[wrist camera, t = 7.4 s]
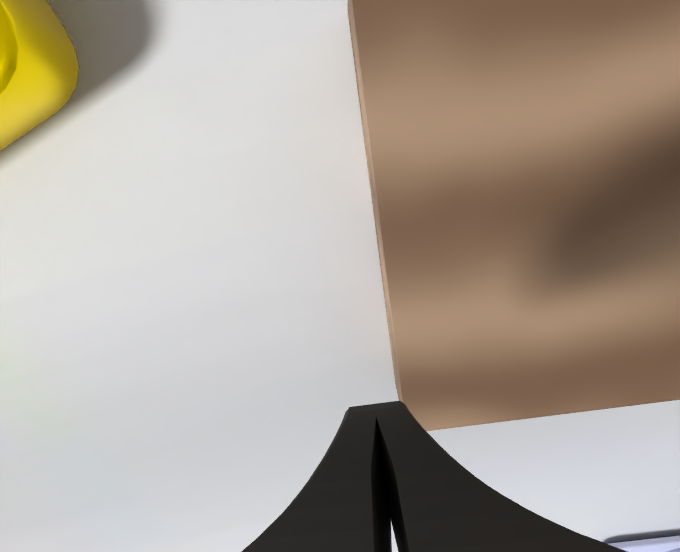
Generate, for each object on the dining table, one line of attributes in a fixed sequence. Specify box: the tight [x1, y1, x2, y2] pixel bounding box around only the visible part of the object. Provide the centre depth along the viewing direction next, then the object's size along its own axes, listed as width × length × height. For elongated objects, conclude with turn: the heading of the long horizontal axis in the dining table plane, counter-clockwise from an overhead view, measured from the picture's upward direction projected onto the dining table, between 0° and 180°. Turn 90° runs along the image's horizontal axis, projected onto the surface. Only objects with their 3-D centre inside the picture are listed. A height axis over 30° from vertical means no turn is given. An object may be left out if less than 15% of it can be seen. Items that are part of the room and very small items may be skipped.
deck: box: [348, 0, 680, 431], centre depth 18 cm, size 16×12×4 cm
